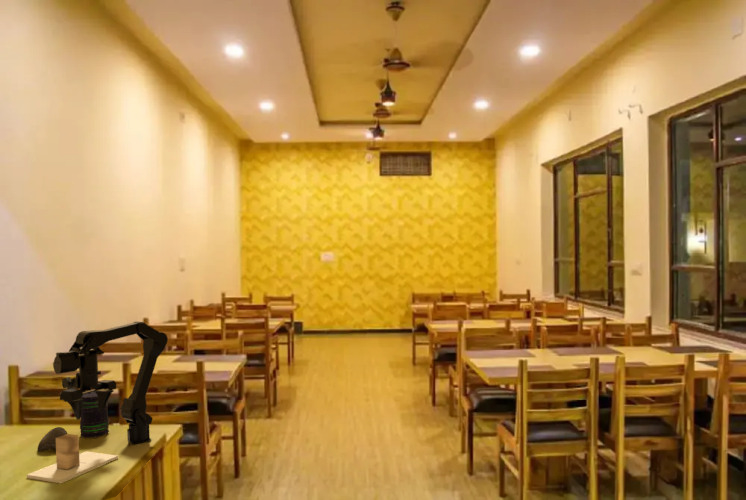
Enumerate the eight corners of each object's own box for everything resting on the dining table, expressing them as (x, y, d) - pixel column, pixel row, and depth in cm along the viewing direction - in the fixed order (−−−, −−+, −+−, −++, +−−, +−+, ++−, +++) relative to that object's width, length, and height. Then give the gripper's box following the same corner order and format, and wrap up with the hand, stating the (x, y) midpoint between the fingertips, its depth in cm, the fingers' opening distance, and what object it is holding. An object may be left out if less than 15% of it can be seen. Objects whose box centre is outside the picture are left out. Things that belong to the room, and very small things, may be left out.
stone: (45, 465, 208) (67, 443, 209) (28, 447, 209) (50, 425, 210) (59, 459, 218) (80, 438, 219) (43, 442, 218) (64, 421, 219)
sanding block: (69, 463, 194) (67, 433, 194) (79, 465, 193) (78, 435, 192) (56, 468, 190) (55, 438, 190) (67, 470, 188) (66, 439, 188)
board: (86, 454, 206) (86, 451, 206) (118, 458, 201) (118, 455, 201) (26, 477, 186) (26, 474, 186) (60, 483, 180) (60, 479, 180)
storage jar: (114, 432, 231) (112, 392, 230) (88, 439, 223) (87, 398, 223) (100, 428, 237) (99, 389, 237) (75, 435, 229) (73, 394, 229)
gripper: (92, 362, 217) (93, 407, 217) (46, 373, 200) (47, 421, 200) (116, 364, 213) (118, 409, 213) (72, 374, 196) (73, 424, 196)
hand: (89, 415), depth 206 cm, fingers open, 9 cm apart
